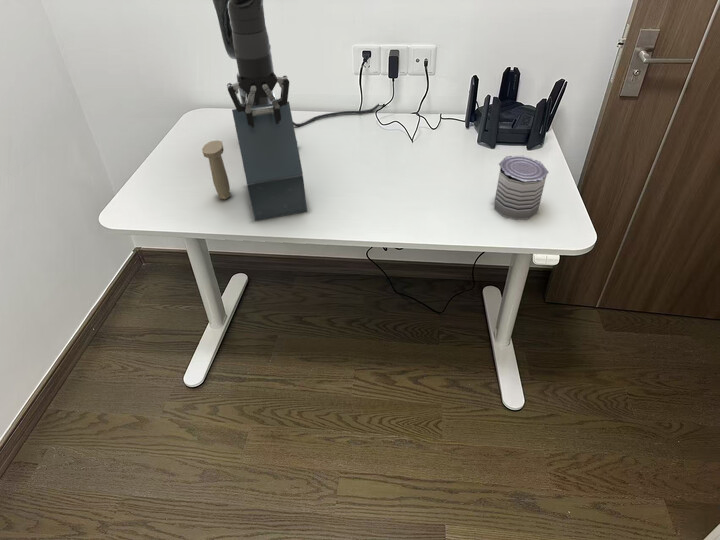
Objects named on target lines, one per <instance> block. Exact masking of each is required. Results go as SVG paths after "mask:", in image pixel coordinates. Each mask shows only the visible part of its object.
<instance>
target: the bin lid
mask: <svg viewBox="0 0 720 540" xmlns="http://www.w3.org/2000/svg"><path fill="white" fill-rule="evenodd" d="M251 110H252V115H253V120H254V126H255V127H254V128H252V127H251V125H250V126H249V125H248V122H247V117H246V113H245V112H242V111H241V112H238V111H237V109H236V108H233V109H231V111H232V116H233V117H232V118H233V121H234V127H235V131H236V136H237V141H238V142H237V143H238V146H239V151H240V156H241V160H242V165H243V170H244V171H243V172H244V176H245V181H246V185H247V184H248V183H254V182H260V181H266V180H272V179H278V178H284V177H290V176H296V175H303V174H304V172H303V168H302V163H301V157H300V152H299V146H298V140H297V136H296V131H295V126H294V125H293V122H294V120H293V115H292V111H291V105H290V101H287V105H285V106H284V105H283V106H281V107H280V113H281V121H279V124H276V122H275V117H274V109H273V104H267V105H260V106H253V107H252V108H251ZM296 140H297V141H296Z"/></svg>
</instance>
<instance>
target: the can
mask: <svg viewBox="0 0 720 540" xmlns="http://www.w3.org/2000/svg"><path fill="white" fill-rule="evenodd" d="M498 166H499V174H498V180H497V183H496V191H495V196H494V205H493V210H495V211H496V212H497V213H498V214H499V215H500V216H501V217H504V218H507V219H510V220H514V221H520V220H521V221H522V220H530V219H532V218H533V217H534V216H536V215H537V214H538V212H539V208H540V204H541V201H542V196H543V192H544V188H545V183H546V179H547V176H548V174H550V173H549V170H548V169H547V167H545V165H544V164H543V163H542V162H541V161H539V160H537V159H535V158H531V157H528V156H526V155H507V156H505V157H504V158H503V159H502V160H501V161H500V162H499V163H498Z"/></svg>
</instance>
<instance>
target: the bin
mask: <svg viewBox="0 0 720 540" xmlns="http://www.w3.org/2000/svg"><path fill="white" fill-rule="evenodd" d="M246 186H247V190H248V195H249V200H250V205H251V210H252V214H253V219H254V222H258V221H262V220H263V221H264V220H267V219H274V218H279V217H284V216H289V215H290V216H291V215H295V214H300V213H307V212H308V207H307V206H308V205H307V197H306V190H305V181H304V175H303V174H302V175H296V176H290V177H284V178H278V179H272V180H266V181H260V182H254V183H248V184H247V183H246Z"/></svg>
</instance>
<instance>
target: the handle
mask: <svg viewBox="0 0 720 540" xmlns="http://www.w3.org/2000/svg"><path fill="white" fill-rule="evenodd" d="M224 149H225V148H224V144H223V141H221V140H210V141H209V142H206V143H205V144H204V145H203V147H202V149H201V152H202V154H203V157H204V158H206V159H208V163H209V167H210V172H211V176H212V183H213V186H214V189H215V191H216V193H217V196H218V197H219V199H220V200H227V199H228V198H230V197H231V192H230V190H231V188H230V181H229V176H228V173H227V170H226V167H225V163H224V160H223V157H222V155H223V154H224Z"/></svg>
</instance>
